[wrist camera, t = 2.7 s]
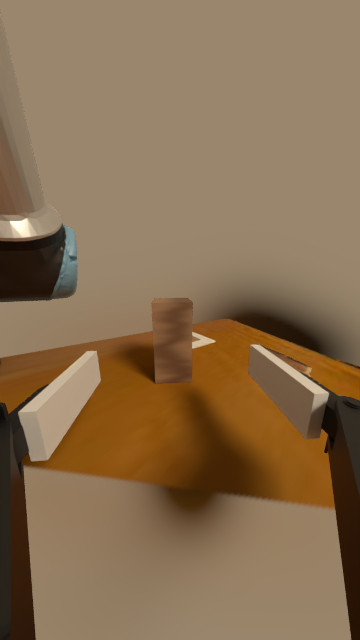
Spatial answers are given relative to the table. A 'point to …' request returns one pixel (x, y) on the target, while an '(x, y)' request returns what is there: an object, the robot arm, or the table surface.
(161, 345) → the walnut block
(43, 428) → the robot arm
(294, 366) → the shard
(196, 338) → the swatch
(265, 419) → the table surface
